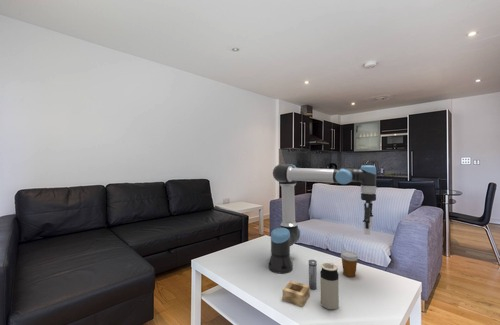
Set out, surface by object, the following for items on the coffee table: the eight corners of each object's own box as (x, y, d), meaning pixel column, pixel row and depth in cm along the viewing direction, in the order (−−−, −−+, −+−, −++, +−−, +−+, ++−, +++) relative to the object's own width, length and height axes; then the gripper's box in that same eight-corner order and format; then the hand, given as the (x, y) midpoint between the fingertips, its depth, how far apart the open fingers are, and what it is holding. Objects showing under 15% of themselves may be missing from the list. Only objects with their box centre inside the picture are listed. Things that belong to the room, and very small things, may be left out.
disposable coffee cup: (360, 279, 129) (360, 258, 129) (342, 277, 131) (342, 256, 131) (356, 271, 139) (355, 251, 139) (339, 270, 141) (339, 250, 140)
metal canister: (307, 288, 121) (307, 261, 120) (310, 284, 124) (309, 259, 124) (315, 290, 118) (315, 263, 118) (317, 287, 122) (317, 260, 122)
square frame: (282, 299, 111) (282, 289, 111) (290, 290, 119) (290, 280, 119) (302, 306, 105) (302, 296, 105) (309, 295, 114) (309, 285, 114)
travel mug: (323, 310, 103) (323, 270, 103) (318, 299, 111) (318, 262, 111) (341, 310, 103) (341, 270, 103) (334, 299, 111) (334, 262, 111)
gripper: (374, 196, 116) (374, 238, 116) (377, 190, 137) (377, 226, 137) (358, 195, 120) (358, 236, 120) (363, 190, 141) (363, 224, 141)
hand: (368, 231), depth 129 cm, fingers open, 13 cm apart
